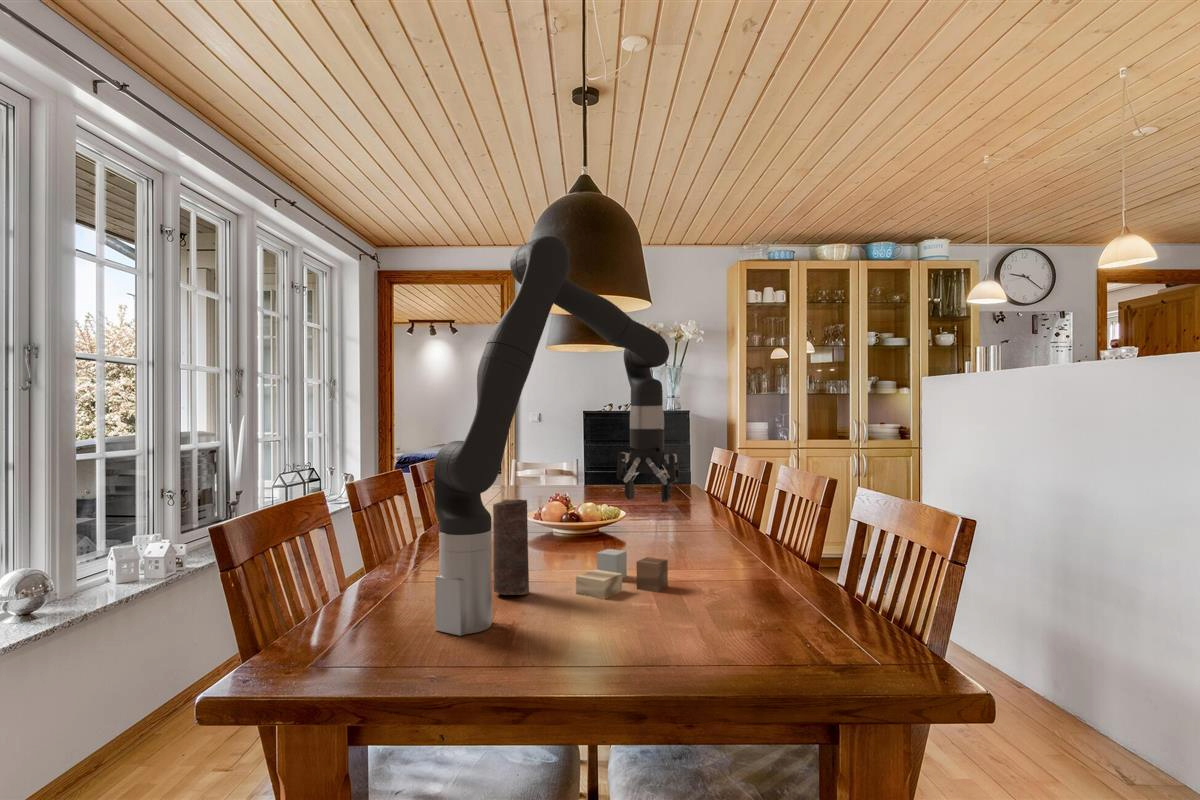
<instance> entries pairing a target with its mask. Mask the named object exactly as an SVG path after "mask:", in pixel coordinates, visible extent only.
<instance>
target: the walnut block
mask: <svg viewBox="0 0 1200 800" xmlns="http://www.w3.org/2000/svg"><path fill="white" fill-rule="evenodd" d="M668 563H669V561H668V559H665V558H658V557H657V558H656V557H649V556H647V557H644V558H641V559H640V560H637V561H636V590H641V591H645V592H646V591H647V592H653V593H660V592H661V591H663V590H665V589H667V588H668V586H669V577H668V576H669V575H668V574H669V573H668V571H669V570H668Z"/></svg>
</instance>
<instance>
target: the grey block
mask: <svg viewBox="0 0 1200 800" xmlns="http://www.w3.org/2000/svg"><path fill="white" fill-rule="evenodd" d="M627 558H628V554H627V550H622V549H621V550H619V549H612V548H607V549H604V550H601V551H598V552H596V570H602V571H608V572H615V573H621V574H622V580H623V579H625V578H627V577H628V575H627V574H628V573H627V572H628V571H627V570H628V568H627V567H628V561H627Z"/></svg>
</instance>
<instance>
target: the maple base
mask: <svg viewBox="0 0 1200 800" xmlns="http://www.w3.org/2000/svg"><path fill="white" fill-rule="evenodd" d="M621 592H622V593H623V579H622V574H621V573H615V572H608V571H602V570H597V568H596V569H592V570H590V571H586V572H584V573H581V574H578V575H576V577H575V595H579V596H584V595H585V596H584V597H589V596H591V598H594V597H595V598H596V599H600V600H605V598H606V599H608V598H610V597H613V596H614V595H617V594H619V593H621Z"/></svg>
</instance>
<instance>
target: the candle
mask: <svg viewBox="0 0 1200 800" xmlns="http://www.w3.org/2000/svg"><path fill="white" fill-rule="evenodd" d="M492 512H493V513H492V515H493V521H492V522H493V523H492V524H493V526H492V528H493V529H492V531H493V532H492V533H493V538H492V539H493V541H492V542H493V592H495V593H496V594H499V595H503V596H513V595H516V596H517V595H519V596H527V595H529V593H530V581H529V580H530V579H529V578H530V575H529V574H530V571H529V570H530V569H529V568H530V567H529V535H528V534H529V533H528V531H529V530H528V526H529V525H528V500H527V499H501V501H500V502H497V503H493V505H492Z"/></svg>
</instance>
